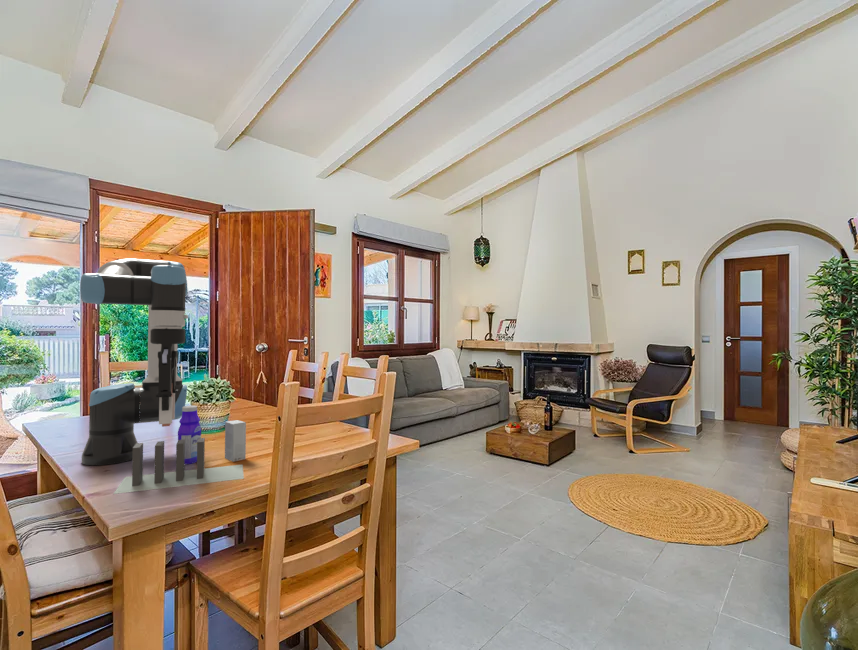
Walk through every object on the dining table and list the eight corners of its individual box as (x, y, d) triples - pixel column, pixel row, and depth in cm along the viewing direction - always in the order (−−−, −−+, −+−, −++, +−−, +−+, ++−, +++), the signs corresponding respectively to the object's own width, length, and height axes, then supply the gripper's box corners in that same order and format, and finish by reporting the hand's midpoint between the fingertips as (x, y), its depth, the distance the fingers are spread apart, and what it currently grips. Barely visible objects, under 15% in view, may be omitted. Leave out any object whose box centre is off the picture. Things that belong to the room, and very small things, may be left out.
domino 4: (196, 479, 123) (197, 442, 123) (197, 473, 128) (198, 438, 128) (203, 478, 124) (203, 441, 124) (204, 472, 128) (204, 437, 129)
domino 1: (132, 486, 117) (132, 447, 117) (135, 480, 122) (136, 443, 122) (139, 485, 118) (139, 447, 118) (142, 479, 122) (143, 442, 122)
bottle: (192, 466, 136) (193, 408, 136) (173, 466, 136) (174, 408, 136) (204, 459, 143) (204, 404, 144) (186, 459, 143) (187, 404, 144)
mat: (113, 495, 112) (113, 493, 112) (125, 478, 125) (125, 477, 125) (243, 479, 124) (243, 478, 124) (242, 465, 137) (242, 464, 137)
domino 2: (154, 483, 119) (154, 445, 119) (157, 478, 124) (157, 441, 124) (161, 483, 120) (161, 445, 120) (163, 477, 124) (164, 441, 125)
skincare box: (246, 460, 143) (246, 422, 143) (232, 462, 140) (233, 424, 140) (237, 456, 147) (237, 419, 147) (224, 459, 144) (224, 421, 144)
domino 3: (175, 481, 121) (176, 444, 121) (177, 475, 126) (178, 439, 126) (182, 480, 122) (183, 443, 122) (184, 475, 126) (184, 439, 127)
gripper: (181, 328, 106) (180, 427, 106) (188, 328, 122) (187, 413, 122) (144, 327, 103) (143, 430, 103) (156, 327, 119) (155, 415, 119)
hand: (167, 421), depth 112 cm, fingers closed on end domino, 5 cm apart
